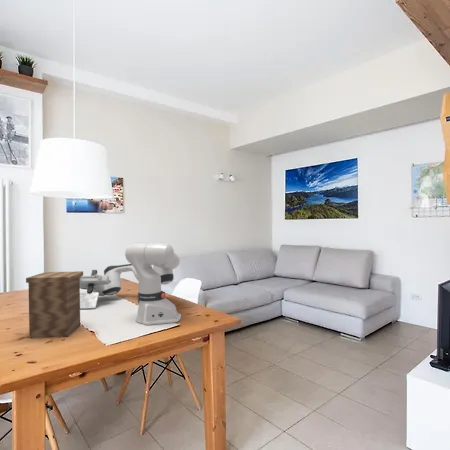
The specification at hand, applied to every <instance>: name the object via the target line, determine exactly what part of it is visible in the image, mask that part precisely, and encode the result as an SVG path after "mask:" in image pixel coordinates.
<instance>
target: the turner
mask: <svg viewBox="0 0 450 450" xmlns="http://www.w3.org/2000/svg"><path fill="white" fill-rule="evenodd" d="M95 274H98V269H92V270H91V274H90V276H95ZM93 288H94V283H89V285H88V289H86V292H80V310H96V309H97V305H98V300H99V297H100V296H99V292H93Z"/></svg>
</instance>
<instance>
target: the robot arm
mask: <svg viewBox="0 0 450 450" xmlns="http://www.w3.org/2000/svg"><path fill="white" fill-rule="evenodd" d="M124 255H125V258H126V259H125V260H126V261H127V262H128V263H127V264H119V265H108V266H107V267H106V268H105V269H104V271H103V275H102V274H101V275H99V274H98V273H97V274H95V276H91V275H83V276H81V277H80V290H87V289H88V285H89V283H94V288H93V292H99V297H104V296H105V297H106V296H114V295H117V294H118V293H119V292H120V291H121V289H122V284H121V283H122V281H121V274H122V273H127V272H128V273H129V272H132V273H133V275H134V277H135V278H136V280H137V281H138V293H137V303H138V308H137V314H136V317H135V321H136V322H137V323H139V324H142V325H145V326H153V325H163V324H172V323H173V324H174V323H177V322H180V321H181V319H182V314H181V313H179V312H178V311H177V308H176V304H174V303H173V302H172V301H170V300H169V299H167V298H166V291H163V290H162V285H164V286H165V285H169V284H170V283H171V282H172V283H173V281H174V280H175V279H174V272H173V271H174V269H176V268H177V267H179V265H180V257H179V256H178V254H177V253H176V252H175V251H174V248H173V246H172V245H171V244H169V243H164V242H134V243H130V244H128V245H127V247H126V248H125V252H124ZM93 292H92V293H93Z"/></svg>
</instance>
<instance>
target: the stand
mask: <svg viewBox="0 0 450 450" xmlns="http://www.w3.org/2000/svg"><path fill="white" fill-rule="evenodd" d="M81 276H84V271H83V270H82V271H44V272H41V273H38V274H35V275H32V276H29V277H25V283H26V284H28V325H29V326H28V329H29V330H28V331H29V334H28V335H29V336H28V337H29V339H42V338H43V339H47V338H68V337H69V336H71V335H72V334H73V333H74V332H76V330H78V329H79V328H80V327H81V309H80V293H81V289H80V277H81Z"/></svg>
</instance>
